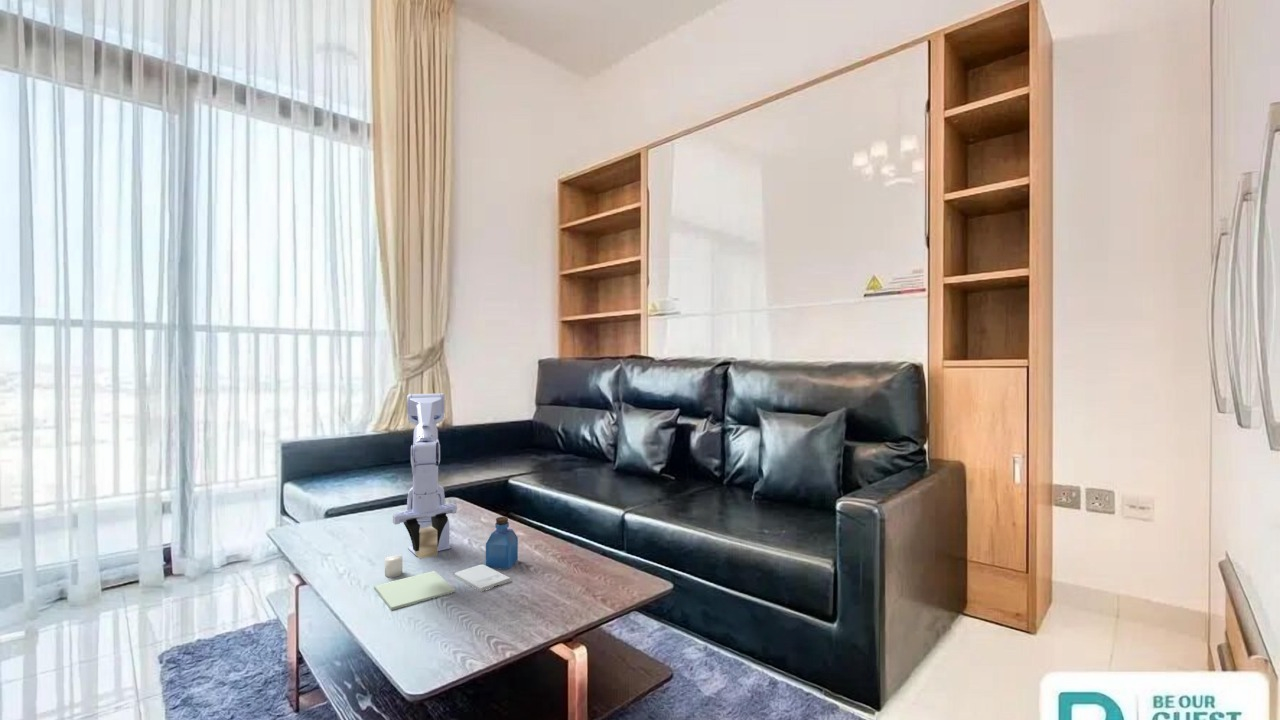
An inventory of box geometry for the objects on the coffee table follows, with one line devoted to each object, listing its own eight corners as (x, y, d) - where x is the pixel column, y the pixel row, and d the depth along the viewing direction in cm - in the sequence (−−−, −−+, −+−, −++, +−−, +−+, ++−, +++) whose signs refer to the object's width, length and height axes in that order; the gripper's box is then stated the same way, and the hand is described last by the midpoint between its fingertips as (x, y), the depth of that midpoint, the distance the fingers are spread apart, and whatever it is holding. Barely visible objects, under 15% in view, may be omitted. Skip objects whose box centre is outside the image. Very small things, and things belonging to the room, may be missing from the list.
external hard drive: (483, 569, 142) (511, 583, 133) (454, 579, 136) (481, 594, 127) (483, 563, 142) (511, 576, 133) (454, 572, 136) (481, 587, 127)
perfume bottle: (485, 567, 142) (485, 521, 142) (495, 558, 148) (495, 514, 148) (508, 569, 141) (508, 522, 140) (517, 560, 147) (517, 515, 147)
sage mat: (434, 573, 138) (434, 570, 138) (455, 592, 127) (455, 589, 127) (374, 588, 129) (374, 585, 129) (391, 610, 118) (391, 607, 118)
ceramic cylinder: (399, 569, 140) (399, 553, 140) (404, 574, 137) (404, 558, 137) (382, 573, 138) (382, 557, 138) (387, 578, 135) (387, 562, 134)
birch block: (431, 550, 135) (431, 526, 135) (437, 555, 132) (437, 530, 132) (414, 554, 132) (414, 529, 132) (420, 559, 129) (420, 533, 129)
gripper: (399, 500, 124) (399, 559, 124) (461, 490, 133) (461, 545, 134) (390, 494, 130) (390, 551, 130) (450, 484, 139) (450, 537, 139)
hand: (425, 547), depth 132 cm, fingers closed on birch block, 4 cm apart
